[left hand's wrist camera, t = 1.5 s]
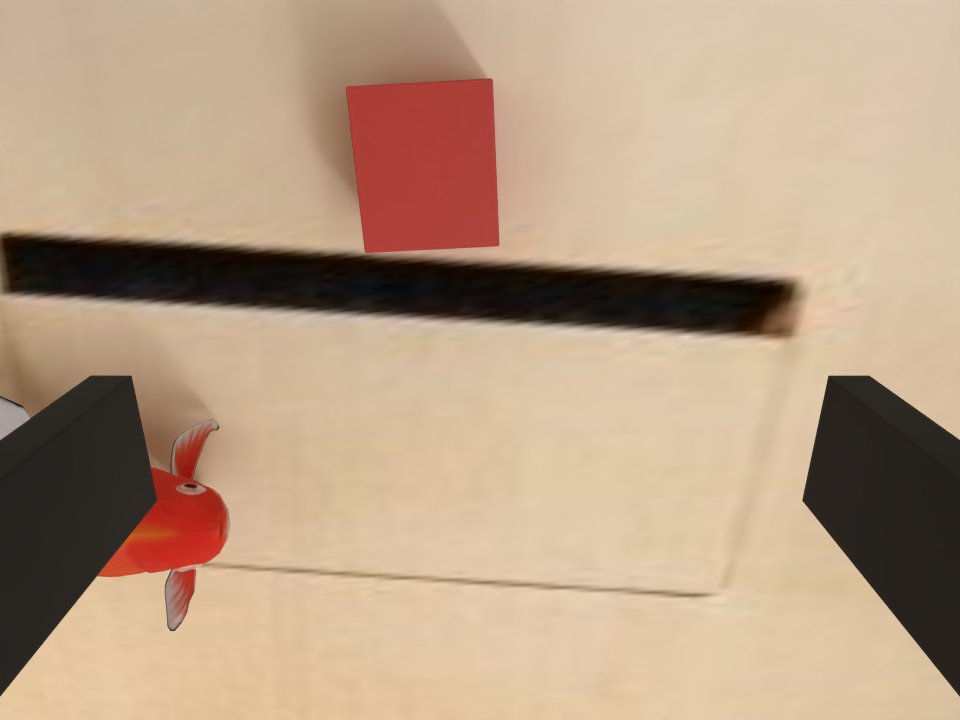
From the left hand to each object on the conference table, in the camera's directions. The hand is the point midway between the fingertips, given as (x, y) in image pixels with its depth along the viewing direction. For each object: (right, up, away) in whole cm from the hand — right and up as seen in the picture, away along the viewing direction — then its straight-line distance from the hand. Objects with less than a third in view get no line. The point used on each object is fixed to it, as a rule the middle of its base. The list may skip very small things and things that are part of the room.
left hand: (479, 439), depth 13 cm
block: (-2, +9, +12) cm, 15 cm away
